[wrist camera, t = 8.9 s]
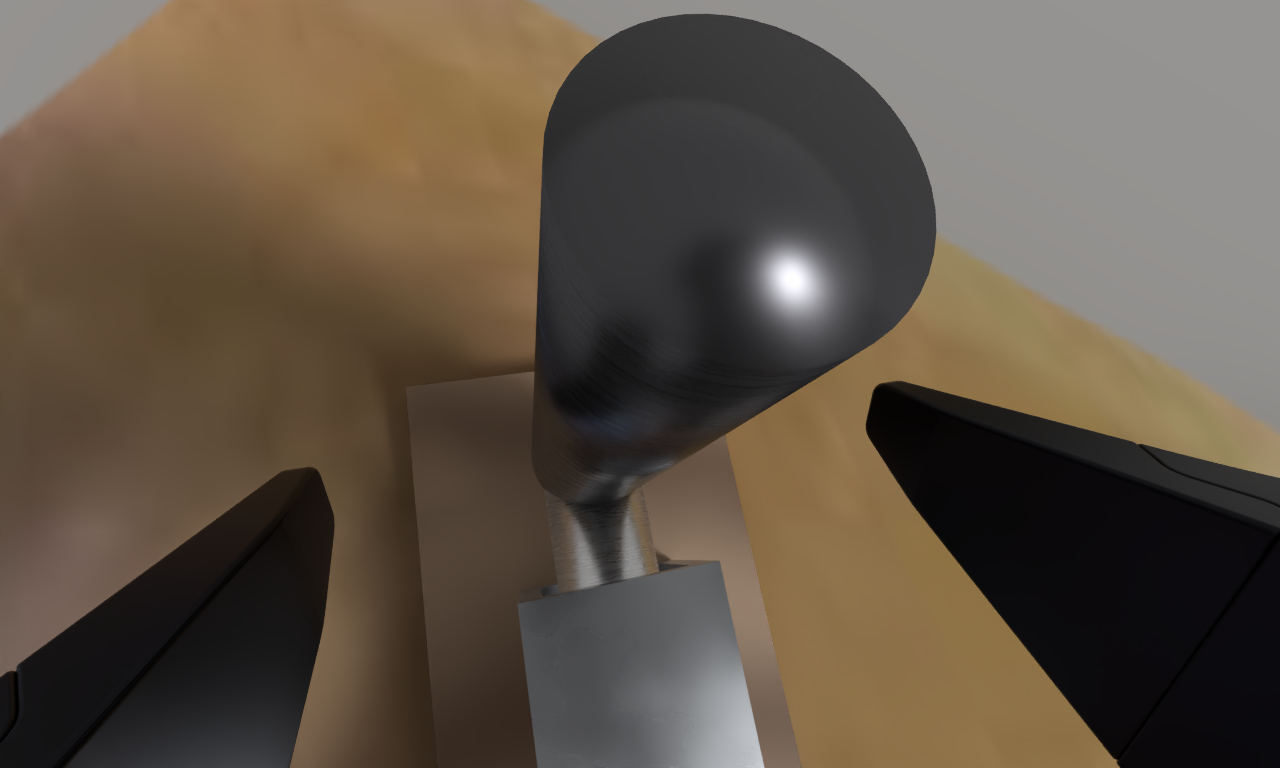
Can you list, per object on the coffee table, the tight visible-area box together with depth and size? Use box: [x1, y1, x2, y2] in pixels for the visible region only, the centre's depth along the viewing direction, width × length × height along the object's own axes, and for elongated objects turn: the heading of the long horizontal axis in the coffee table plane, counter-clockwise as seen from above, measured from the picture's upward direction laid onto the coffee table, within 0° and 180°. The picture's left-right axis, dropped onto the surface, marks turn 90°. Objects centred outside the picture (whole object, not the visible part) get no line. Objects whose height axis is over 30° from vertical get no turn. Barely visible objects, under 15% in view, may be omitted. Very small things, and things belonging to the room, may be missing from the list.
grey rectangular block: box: [517, 560, 764, 768], centre depth 12 cm, size 8×4×4 cm, turn 11°
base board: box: [406, 371, 802, 768], centre depth 15 cm, size 20×9×1 cm, turn 11°
